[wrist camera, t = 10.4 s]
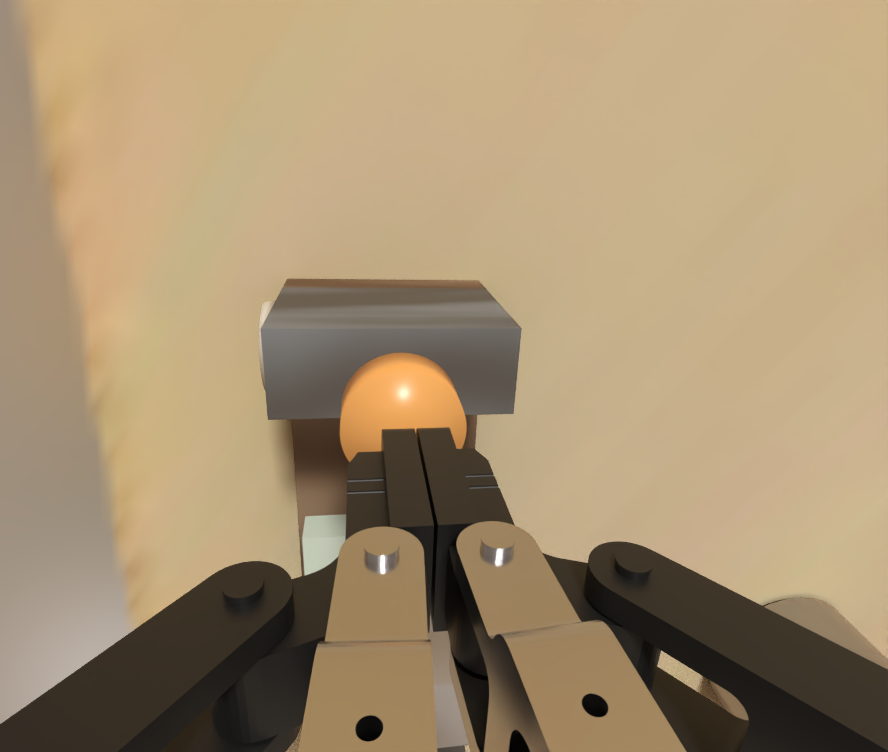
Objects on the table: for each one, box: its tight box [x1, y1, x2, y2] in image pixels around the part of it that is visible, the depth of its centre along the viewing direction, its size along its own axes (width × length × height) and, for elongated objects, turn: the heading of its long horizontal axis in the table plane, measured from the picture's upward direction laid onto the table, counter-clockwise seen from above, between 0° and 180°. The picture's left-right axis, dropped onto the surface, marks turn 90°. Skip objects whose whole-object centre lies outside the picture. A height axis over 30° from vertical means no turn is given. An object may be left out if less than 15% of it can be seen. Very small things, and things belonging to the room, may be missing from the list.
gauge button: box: [340, 353, 466, 462], centre depth 15 cm, size 3×3×2 cm
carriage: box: [302, 514, 469, 748], centre depth 22 cm, size 6×7×8 cm
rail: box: [259, 279, 521, 752], centre depth 26 cm, size 27×8×7 cm, turn 178°
